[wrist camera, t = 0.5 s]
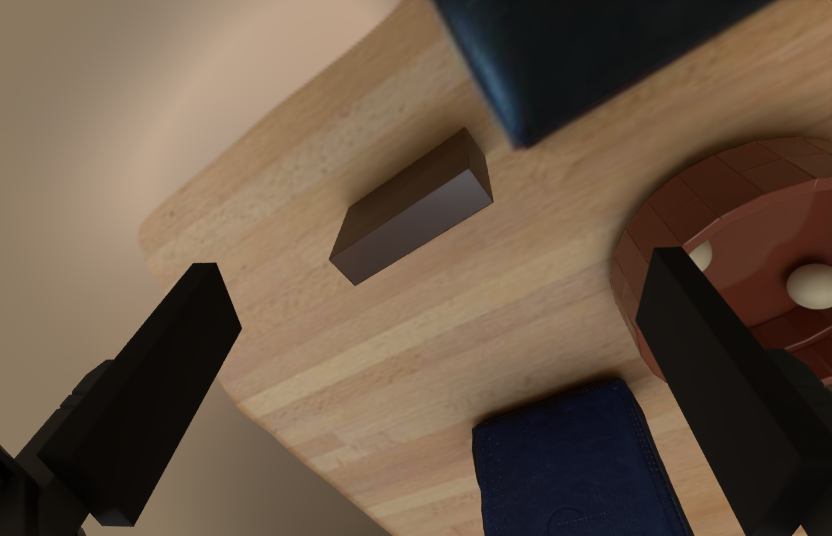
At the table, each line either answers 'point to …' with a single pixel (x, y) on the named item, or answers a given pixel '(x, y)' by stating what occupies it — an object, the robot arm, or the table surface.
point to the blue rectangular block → (575, 469)
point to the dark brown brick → (413, 208)
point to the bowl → (743, 240)
